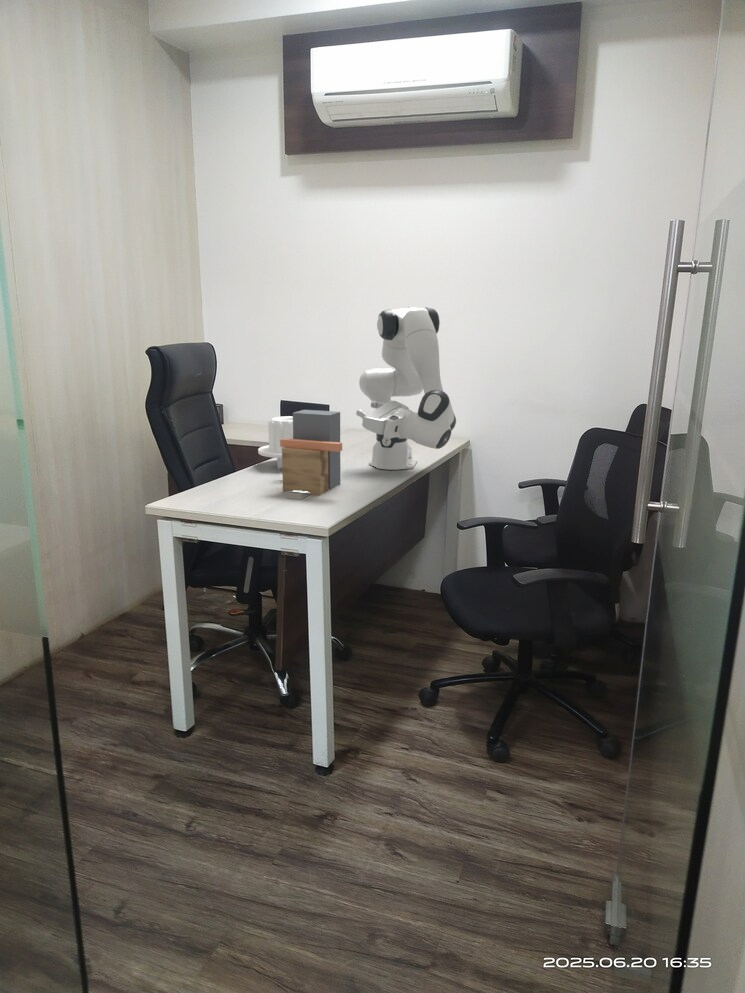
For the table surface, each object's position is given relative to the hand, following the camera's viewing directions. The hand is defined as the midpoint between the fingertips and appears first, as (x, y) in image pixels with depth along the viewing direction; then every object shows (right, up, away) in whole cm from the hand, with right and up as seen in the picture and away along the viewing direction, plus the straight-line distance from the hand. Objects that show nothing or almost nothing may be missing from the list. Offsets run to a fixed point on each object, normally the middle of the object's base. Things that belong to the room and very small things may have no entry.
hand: (364, 407), depth 231 cm
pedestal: (-17, -25, +21) cm, 37 cm away
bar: (-18, -13, +8) cm, 24 cm away
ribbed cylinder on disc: (-31, -17, +53) cm, 63 cm away
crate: (-21, -27, +13) cm, 36 cm away
